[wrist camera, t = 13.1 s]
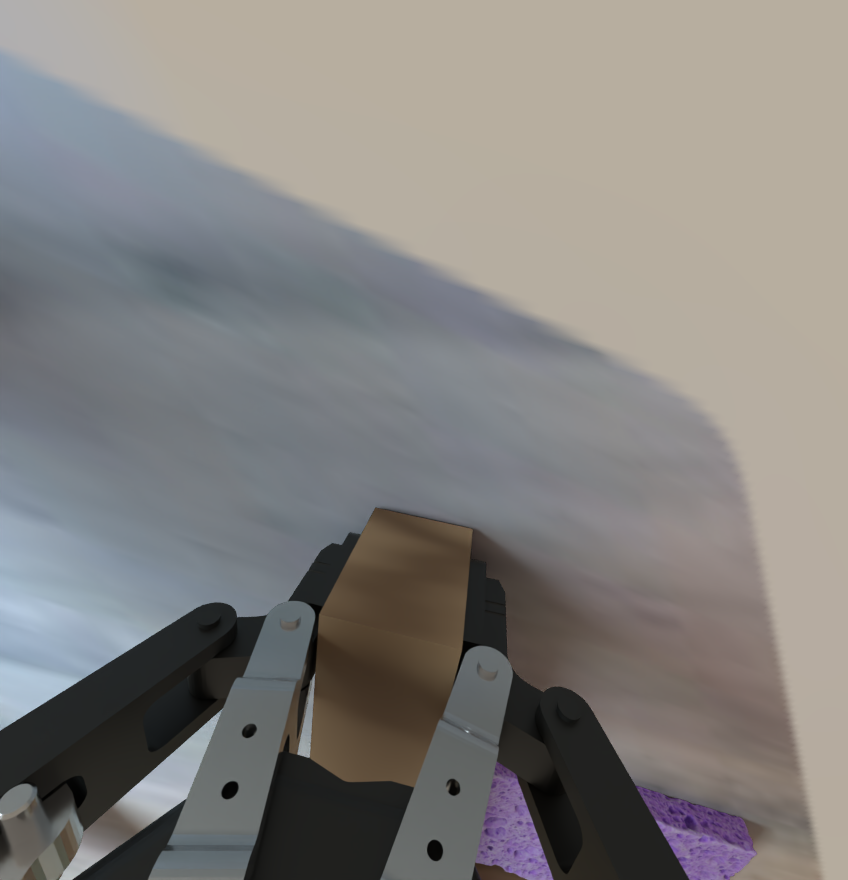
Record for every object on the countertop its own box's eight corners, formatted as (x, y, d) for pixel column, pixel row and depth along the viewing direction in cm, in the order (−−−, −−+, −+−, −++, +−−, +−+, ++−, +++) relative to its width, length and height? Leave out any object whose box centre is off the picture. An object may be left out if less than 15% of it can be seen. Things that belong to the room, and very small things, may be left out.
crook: (338, 819, 22) (297, 960, 17) (375, 507, 14) (319, 614, 10) (589, 893, 21) (616, 1067, 16) (777, 596, 13) (931, 766, 8)
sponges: (461, 720, 18) (458, 764, 17) (742, 806, 18) (769, 863, 16) (429, 804, 21) (424, 850, 19) (672, 883, 20) (688, 938, 19)
